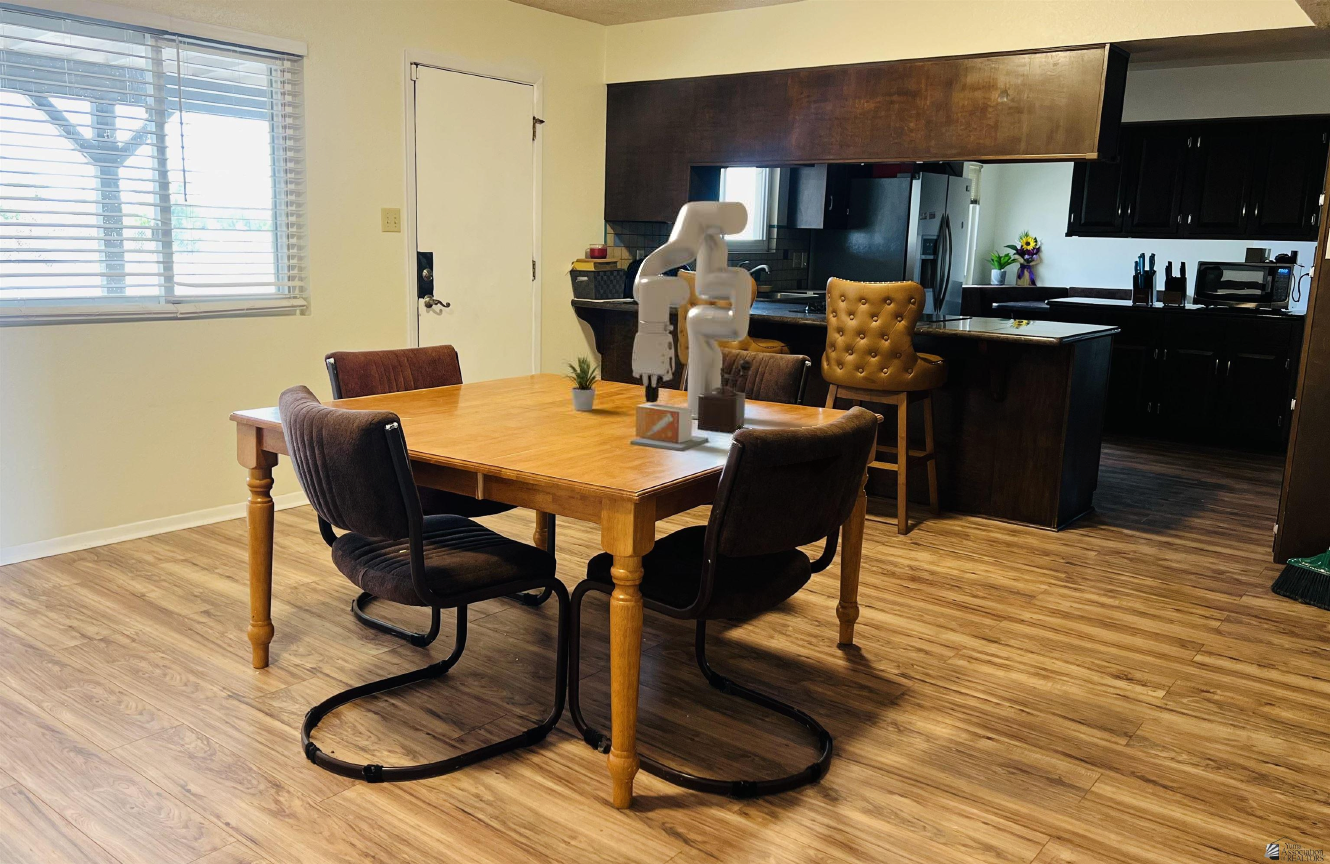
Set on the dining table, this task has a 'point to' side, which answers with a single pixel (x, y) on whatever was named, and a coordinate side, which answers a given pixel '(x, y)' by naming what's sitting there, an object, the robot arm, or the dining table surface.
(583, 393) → the house plant
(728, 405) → the manual coffee grinder
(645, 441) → the mat
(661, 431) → the small box
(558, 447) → the dining table surface
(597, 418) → the dining table surface
